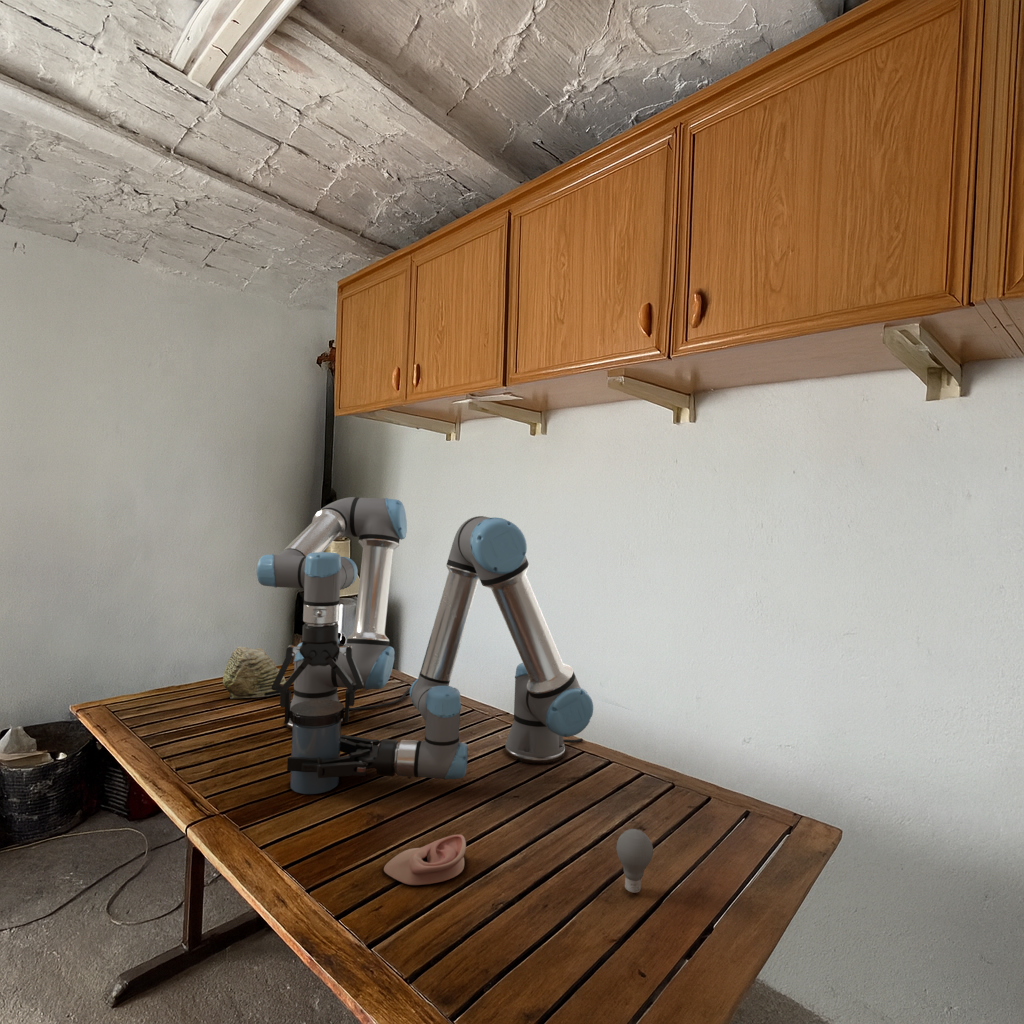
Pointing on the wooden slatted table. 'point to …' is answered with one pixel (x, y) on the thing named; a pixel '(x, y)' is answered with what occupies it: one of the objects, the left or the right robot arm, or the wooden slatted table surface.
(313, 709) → the lid
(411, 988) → the wooden slatted table surface
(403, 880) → the anatomical model
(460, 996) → the wooden slatted table surface
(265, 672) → the fossil
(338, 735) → the jar
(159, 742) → the wooden slatted table surface
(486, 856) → the wooden slatted table surface
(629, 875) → the light bulb
